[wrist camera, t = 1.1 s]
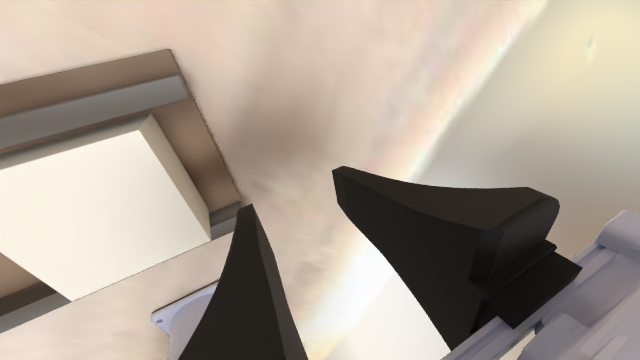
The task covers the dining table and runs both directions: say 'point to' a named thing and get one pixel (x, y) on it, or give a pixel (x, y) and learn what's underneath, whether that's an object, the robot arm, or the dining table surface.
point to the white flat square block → (98, 206)
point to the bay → (99, 110)
